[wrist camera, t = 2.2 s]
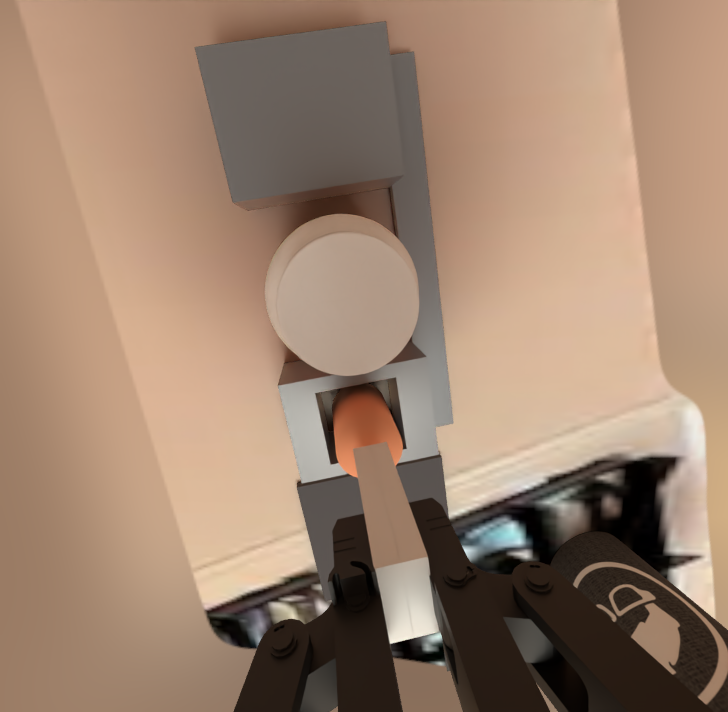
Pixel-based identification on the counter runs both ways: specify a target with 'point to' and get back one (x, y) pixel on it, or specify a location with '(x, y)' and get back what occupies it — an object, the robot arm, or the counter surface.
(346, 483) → the mat
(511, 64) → the counter surface
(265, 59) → the housing
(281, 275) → the pill bottle
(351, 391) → the plunger
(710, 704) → the coffee cup
